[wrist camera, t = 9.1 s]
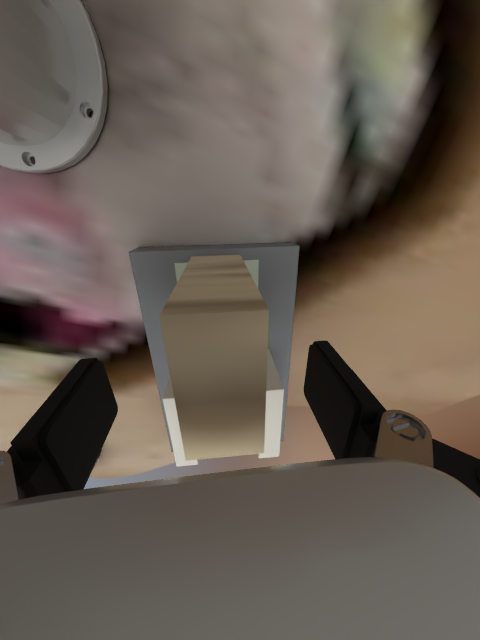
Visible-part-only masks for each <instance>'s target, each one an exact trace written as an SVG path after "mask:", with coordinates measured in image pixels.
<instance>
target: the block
mask: <svg viewBox="0 0 480 640" xmlns="http://www.w3.org/2000/svg"><path fill="white" fill-rule="evenodd" d="M159 317H160V322H161V328H162V333H163V339H164V344H165V350H166V355H167V361H168V366H169V372H170V377H171V383H172V388H173V394H174V399H175V405H176V410H177V416H178V421H179V427H180V432H181V438H182V443H183V449H184V454H185V460H186V461H188V460H198V459H208V458H218V457H228V456H238V455H248V454H259V453H264V442H265V412H266V382H267V352H268V322H269V309H268V307H267V305H266V303H265V301H264V300H263V298H262V296H261V294H260V292H259V290H258V288H257V286H256V284H255V282H254V280H253V278H252V276H251V274H250V273H249V271H248V269H247V267H246V265H245V263H244V261H243V259H242V257H241V255H213V256H191V258H190V260H189V262H188V264H187V266H186V267H185V269H184V271H183V273H182V275H181V277H180V279H179V280H178V282H177V284H176V286H175V288H174V290H173V291H172V293H171V295H170V297H169V299H168V301H167V303H166V304H165V306H164V308H163V310H162V312H161V314H160V316H159Z"/></svg>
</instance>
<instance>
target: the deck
mask: <svg viewBox="0 0 480 640" xmlns="http://www.w3.org/2000/svg"><path fill="white" fill-rule="evenodd" d="M213 255H241V257H242V259H243V261H244V263H245V265H246V267H247V269H248V271H249V273H250V274H251V276H252V278H253V280H254V282H255V284H256V286H257V288H258V290H259V292H260V294H261V296H262V298H263V300H264V301H265V303H266V305H267V307H268V309H269V322H268V349H269V350H270V353H271V356H272V359H273V361H274V364H275V367H276V369H277V372H278V375H279V377H280V380H281V383H282V385H283V388H284V397H283V410H282V424H281V437H280V442H282V441H283V439H284V427H285V414H286V403H287V391H288V379H289V367H290V354H291V342H292V330H293V318H294V306H295V294H296V282H297V270H298V257H299V246H298V245H296V244H294V243H291V242H287V243H258V244H229V245H199V246H170V247H141V248H136V249H134V250H132V251H130V252H129V256H130V260H131V265H132V270H133V274H134V279H135V283H136V288H137V293H138V297H139V302H140V307H141V311H142V316H143V321H144V325H145V330H146V335H147V339H148V344H149V348H150V353H151V358H152V362H153V367H154V372H155V376H156V381H157V386H158V390H159V395H160V400H161V404H162V409H163V413H164V418H165V423H166V427H167V432H168V437H169V441H170V446H171V451H172V452H174V451H173V447H172V442H171V437H170V432H169V428H168V423H167V418H166V413H165V409H164V404H163V396H164V392H165V389H166V385H167V382H168V378H169V375H170V372H169V366H168V361H167V355H166V350H165V344H164V339H163V333H162V328H161V322H160V317H159V316H160V314H161V312H162V310H163V308H164V306H165V304H166V303H167V301H168V299H169V297H170V295H171V293H172V291H173V290H174V288H175V286H176V284H177V282H178V280H179V279H180V277H181V275H182V273H183V271H184V269H185V267H186V266H187V264H188V262H189V260H190V258H191V256H213Z"/></svg>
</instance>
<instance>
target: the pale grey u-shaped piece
mask: <svg viewBox="0 0 480 640" xmlns="http://www.w3.org/2000/svg"><path fill="white" fill-rule="evenodd" d="M283 397H284V388H283V385H282V383H281V380H280V377H279V375H278V372H277V369H276V367H275V364H274V361H273V359H272V356H271V353H270V350H269V349H268V352H267V382H266V412H265V442H264V453H259V454H258V456H259V458H268V457H277V456H279V450H280V437H281V424H282V410H283ZM163 404H164V409H165V413H166V418H167V423H168V428H169V432H170V437H171V442H172V447H173V451H174V456H175V461H176V466H187V465H197V464H198V460H188V461H186V460H185V454H184V449H183V443H182V438H181V432H180V427H179V421H178V416H177V410H176V405H175V399H174V394H173V388H172V383H171V377H170V375H169V378H168V382H167V385H166V389H165V392H164V396H163Z"/></svg>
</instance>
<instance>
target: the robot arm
mask: <svg viewBox="0 0 480 640" xmlns="http://www.w3.org/2000/svg"><path fill="white" fill-rule="evenodd" d="M107 92H108V85H107V77H106V69H105V62H104V58H103V54H102V51H101V47H100V43H99V39H98V36H97V34H96V31H95V29H94V27H93V24H92V22H91V19H90V17H89V14H88V12H87V10H86V8H85V7H84V5H83V3H82V1H81V0H0V166H1V167H4V168H8V169H11V170H15V171H21V172H26V173H41V174H46V173H52V172H57V171H62V170H64V169H66V168H68V167H71V166H73V165H75V164H76V163H77V162H79V161H80V160H81V159H82V158H84V157H85V156H86V155H87V154H88V152H89V151H90V150H91V148H92V147H93V146H94V144H95V143H96V141H97V139H98V137H99V134H100V132H101V130H102V128H103V124H104V119H105V115H106V110H107ZM90 111H93V116H92V118H90V116H89V113H90ZM34 159H35V161H36V163H35V162H34ZM304 394H305V397H306V399H307V401H308V403H309V405H310V407H311V409H312V412H313V414H314V416H315V417H316V420H317V422H318V424H319V426H320V428H321V430H322V432H323V434H324V436H325V438H326V440H327V442H328V445H329V446H330V449H331V451H332V453H333V455H334V457H335V460H324V461H314V462H305V463H296V464H289V465H288V464H287V465H278V466H270V467H261V468H252V469H244V470H236V471H227V472H219V473H210V474H202V475H194V476H186V477H179V478H170V479H161V480H154V481H145V482H138V483H130V484H122V485H114V486H106V487H98V488H90V489H84V487H85V484H86V482H87V480H88V478H89V476H90V473H91V471H92V469H93V467H94V464H95V462H96V460H97V458H98V455H99V453H100V451H101V449H102V446H103V444H104V442H105V440H106V438H107V435H108V433H109V431H110V429H111V426H112V424H113V422H114V420H115V417H116V415H117V412H118V406H117V403H116V400H115V397H114V394H113V391H112V388H111V385H110V382H109V380H108V377H107V374H106V371H105V368H104V365H103V363H102V361H99V360H98V359H97V358H88V359H81V360H79V361H78V363H77V364H76V365H75V366H74V367H73V369H72V370H71V371H70V372H69V373H68V374H67V376H66V377H65V378H64V379H63V380H62V382H61V383H60V384H59V385H58V386H57V388H56V389H55V390H54V391H53V392H52V394H51V395H50V396H49V397H48V398H47V400H46V401H45V402H44V403H43V404H42V406H41V407H40V408H39V409H38V410H37V412H36V413H35V414H34V415H33V416H32V417H31V419H30V420H29V421H28V422H27V423H26V425H25V426H24V427H23V428H22V429H21V431H20V432H19V433H18V434H17V435H16V437H15V438H14V439H13V440H12V441H11V445H12V446H11V447H10V448H9V450H8V451H7V452H5V451H0V640H480V459H477V458H475V457H473V456H471V455H468V454H466V453H464V452H461V451H459V450H457V449H455V448H452V447H450V446H448V445H446V444H443V443H441V442H439V441H437V440H434V439H432V435H431V432H430V430H429V428H428V427H427V426H426V425H425V424H424V423H423V422H422V421H421V420H420V419H418V418H417V417H415V416H414V415H412V414H410V413H407V412H404V411H401V410H388V411H386V409H385V408H384V407H383V406H382V405H381V403H380V402H379V401H378V400H377V399H376V398H375V396H374V395H373V394H372V393H371V392H370V390H369V389H368V388H367V387H366V386H365V384H364V383H363V382H362V381H361V380H360V379H359V377H358V376H357V375H356V374H355V373H354V371H353V370H352V369H351V368H350V367H349V366H348V365H347V364H346V363H345V361H344V360H343V359H342V358H341V357H340V355H339V354H338V353H337V352H336V351H335V349H334V348H333V347H332V346H331V345H330V343H329V342H328V341H315V342H314V343H313V345H310V347H309V353H308V361H307V368H306V376H305V383H304Z"/></svg>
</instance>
